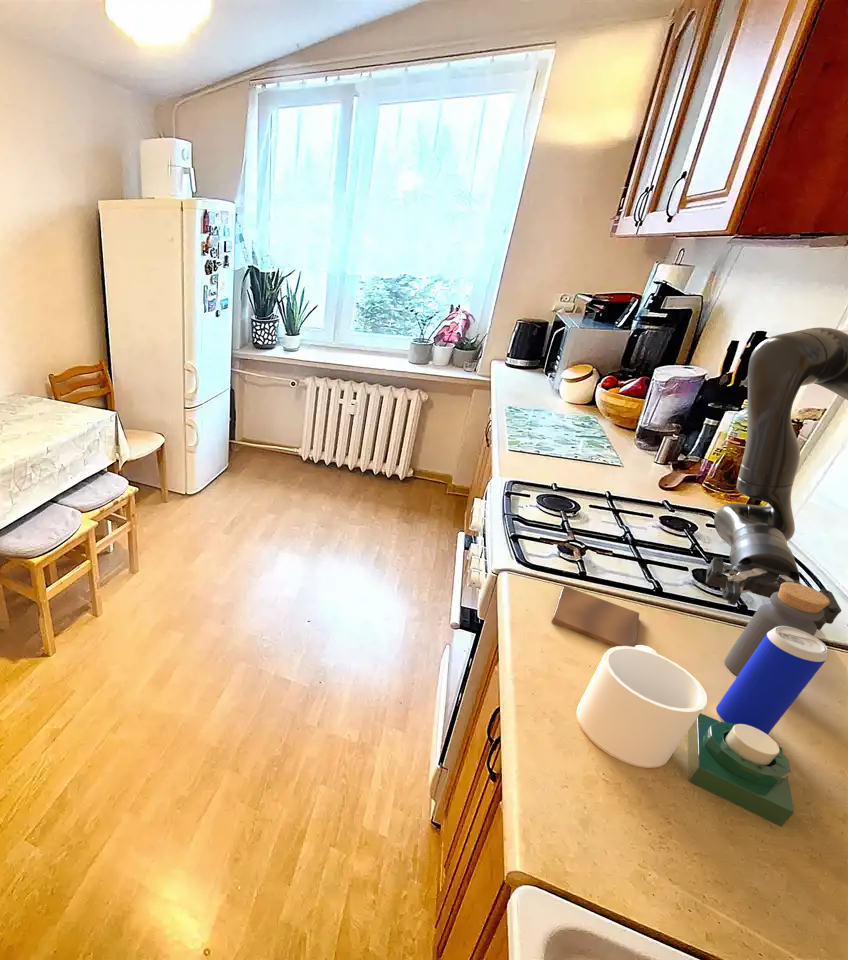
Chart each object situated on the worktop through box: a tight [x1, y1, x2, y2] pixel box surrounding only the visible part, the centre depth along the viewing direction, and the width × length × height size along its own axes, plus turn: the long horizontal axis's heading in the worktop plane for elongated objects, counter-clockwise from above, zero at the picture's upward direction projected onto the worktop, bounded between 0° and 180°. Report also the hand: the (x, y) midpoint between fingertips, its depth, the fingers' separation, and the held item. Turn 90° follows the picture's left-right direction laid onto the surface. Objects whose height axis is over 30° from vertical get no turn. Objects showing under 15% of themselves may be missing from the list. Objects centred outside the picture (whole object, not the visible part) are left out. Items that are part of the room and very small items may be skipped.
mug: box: [575, 644, 708, 769], centre depth 66 cm, size 13×10×10 cm
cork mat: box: [551, 585, 640, 648], centre depth 86 cm, size 11×11×1 cm
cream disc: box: [725, 724, 780, 766], centre depth 61 cm, size 4×4×2 cm
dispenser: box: [687, 712, 795, 827], centre depth 62 cm, size 10×8×4 cm
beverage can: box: [715, 626, 829, 736], centre depth 66 cm, size 5×5×15 cm
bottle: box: [724, 582, 830, 677], centre depth 74 cm, size 6×6×15 cm
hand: (773, 612), depth 76 cm, fingers open, 8 cm apart
